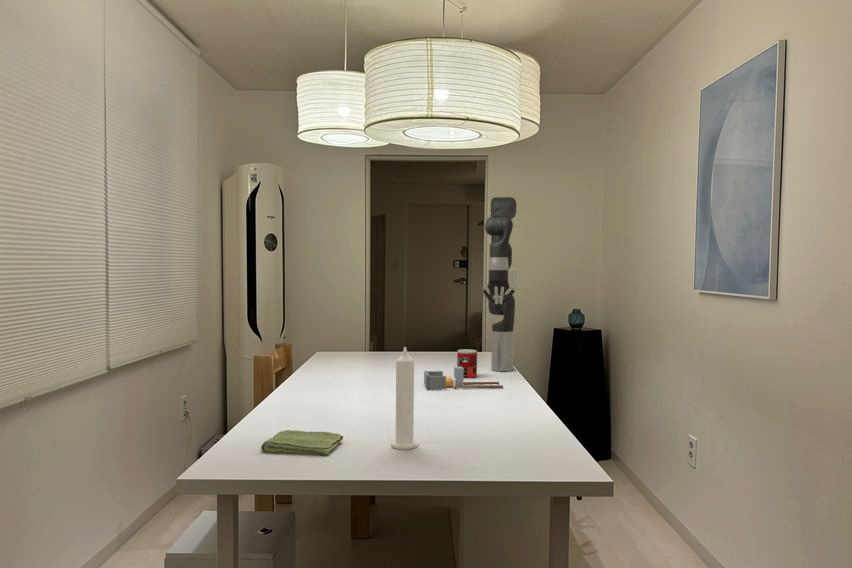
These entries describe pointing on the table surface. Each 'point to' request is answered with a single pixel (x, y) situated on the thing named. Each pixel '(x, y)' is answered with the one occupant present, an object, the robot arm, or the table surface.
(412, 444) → the candle
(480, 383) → the pair of wooden rails
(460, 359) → the canned food
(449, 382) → the ball
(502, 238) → the robot arm
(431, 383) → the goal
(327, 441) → the washcloth
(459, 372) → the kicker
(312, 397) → the table surface
